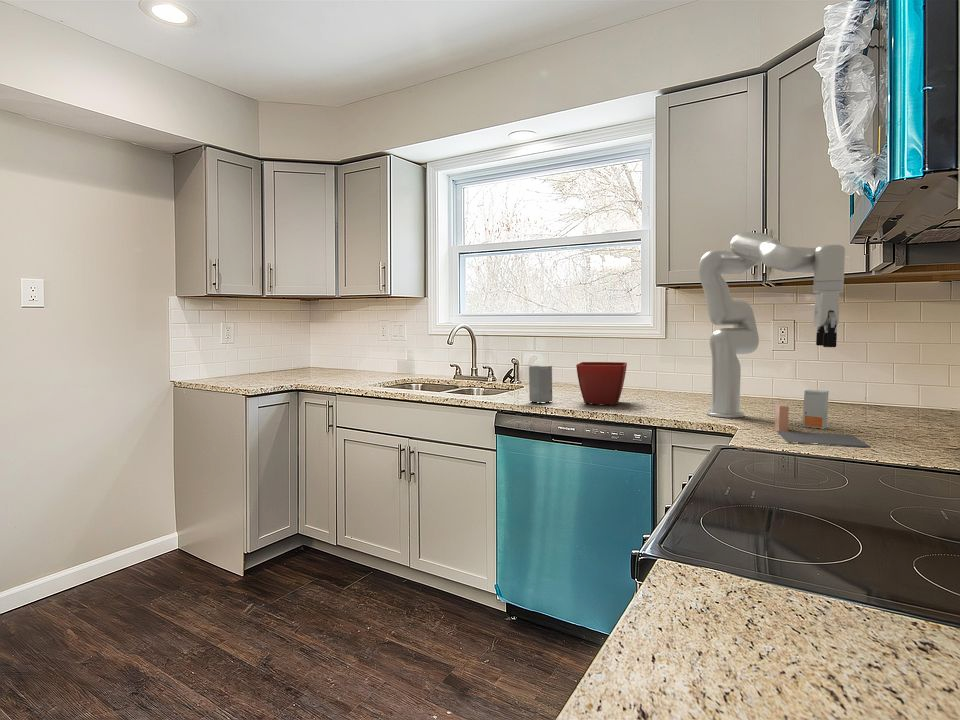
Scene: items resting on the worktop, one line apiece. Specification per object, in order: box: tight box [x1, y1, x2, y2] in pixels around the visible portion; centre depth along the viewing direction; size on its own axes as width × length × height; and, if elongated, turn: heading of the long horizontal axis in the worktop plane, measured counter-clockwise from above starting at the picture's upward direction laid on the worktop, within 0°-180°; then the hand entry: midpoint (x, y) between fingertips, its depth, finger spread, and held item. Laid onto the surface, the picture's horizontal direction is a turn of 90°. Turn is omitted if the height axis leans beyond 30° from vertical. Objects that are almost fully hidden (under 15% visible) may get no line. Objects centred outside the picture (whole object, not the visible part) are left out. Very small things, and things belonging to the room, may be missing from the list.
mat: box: [776, 430, 871, 448], centre depth 163 cm, size 16×20×1 cm
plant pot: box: [575, 361, 628, 406], centre depth 236 cm, size 19×19×17 cm
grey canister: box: [528, 365, 553, 403], centre depth 239 cm, size 8×7×16 cm
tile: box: [774, 402, 790, 432], centre depth 177 cm, size 7×2×8 cm, turn 162°
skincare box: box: [802, 389, 830, 430], centre depth 181 cm, size 6×4×12 cm
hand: (825, 346), depth 166 cm, fingers open, 9 cm apart
